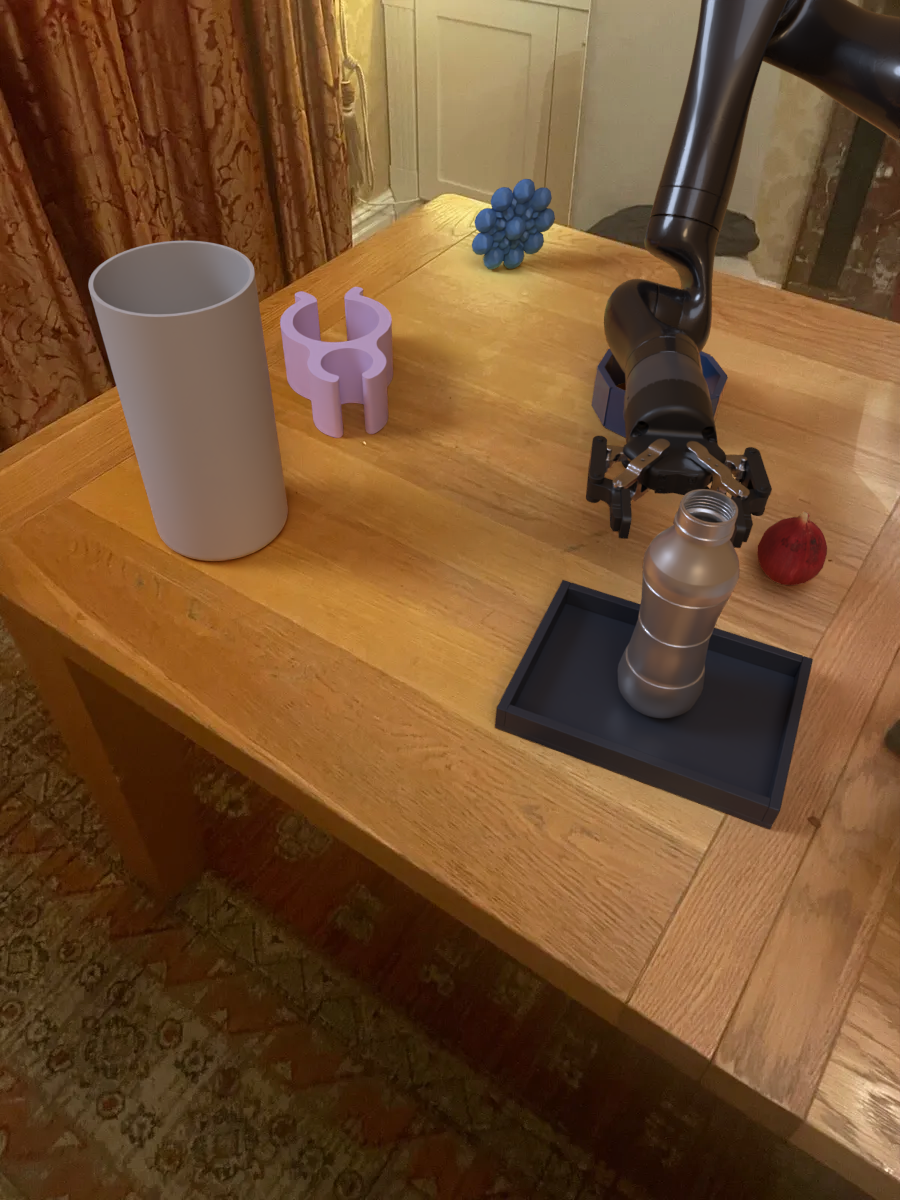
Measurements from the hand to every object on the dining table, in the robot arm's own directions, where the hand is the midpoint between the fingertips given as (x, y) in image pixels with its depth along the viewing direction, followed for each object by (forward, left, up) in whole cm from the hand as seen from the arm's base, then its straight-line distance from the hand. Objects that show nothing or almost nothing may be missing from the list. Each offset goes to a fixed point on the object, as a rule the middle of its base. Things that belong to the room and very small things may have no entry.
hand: (682, 535), depth 69 cm
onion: (-9, -13, -13) cm, 20 cm away
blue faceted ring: (+9, -35, -13) cm, 38 cm away
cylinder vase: (+42, +2, -13) cm, 44 cm away
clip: (+43, -24, -13) cm, 51 cm away
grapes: (+37, -61, -13) cm, 73 cm away
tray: (-2, +6, -13) cm, 14 cm away
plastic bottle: (-2, +6, -12) cm, 14 cm away
